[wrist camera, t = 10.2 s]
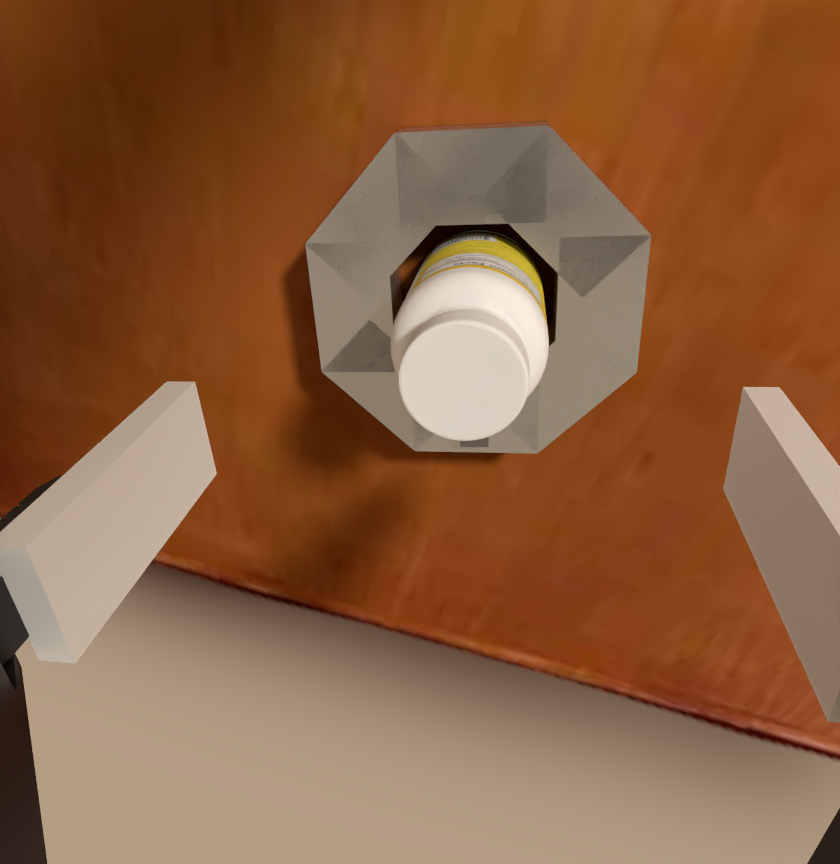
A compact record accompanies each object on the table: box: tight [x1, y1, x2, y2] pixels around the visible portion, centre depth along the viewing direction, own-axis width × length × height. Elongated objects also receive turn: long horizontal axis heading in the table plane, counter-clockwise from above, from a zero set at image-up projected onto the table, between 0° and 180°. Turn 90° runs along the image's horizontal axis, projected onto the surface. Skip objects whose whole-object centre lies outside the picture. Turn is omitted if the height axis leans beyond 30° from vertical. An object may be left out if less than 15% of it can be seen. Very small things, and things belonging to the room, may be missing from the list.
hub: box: [305, 121, 651, 453], centre depth 27 cm, size 13×13×3 cm
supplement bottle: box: [391, 230, 549, 441], centre depth 24 cm, size 5×5×10 cm
